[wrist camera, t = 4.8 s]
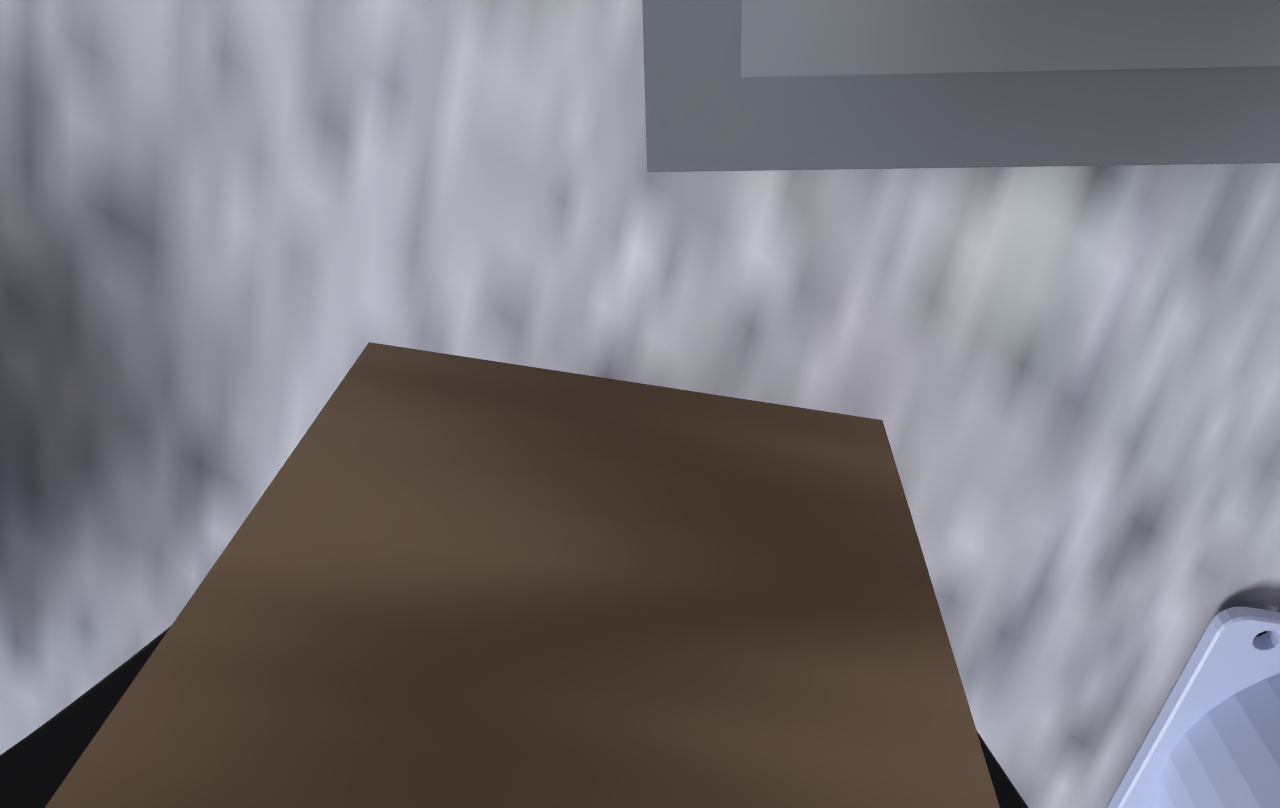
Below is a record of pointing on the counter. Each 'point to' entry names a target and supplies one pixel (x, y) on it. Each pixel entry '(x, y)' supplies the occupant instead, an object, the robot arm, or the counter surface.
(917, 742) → the block
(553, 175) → the counter surface
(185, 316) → the counter surface
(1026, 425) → the counter surface
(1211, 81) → the coaster
